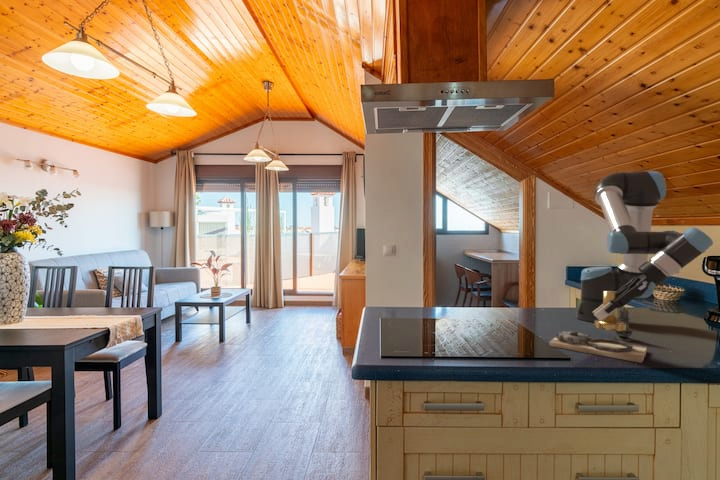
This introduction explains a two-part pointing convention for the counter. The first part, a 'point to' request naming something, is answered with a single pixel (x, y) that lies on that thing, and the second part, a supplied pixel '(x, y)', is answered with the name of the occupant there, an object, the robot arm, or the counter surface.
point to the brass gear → (611, 319)
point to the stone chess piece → (626, 333)
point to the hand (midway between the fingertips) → (596, 316)
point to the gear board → (598, 346)
